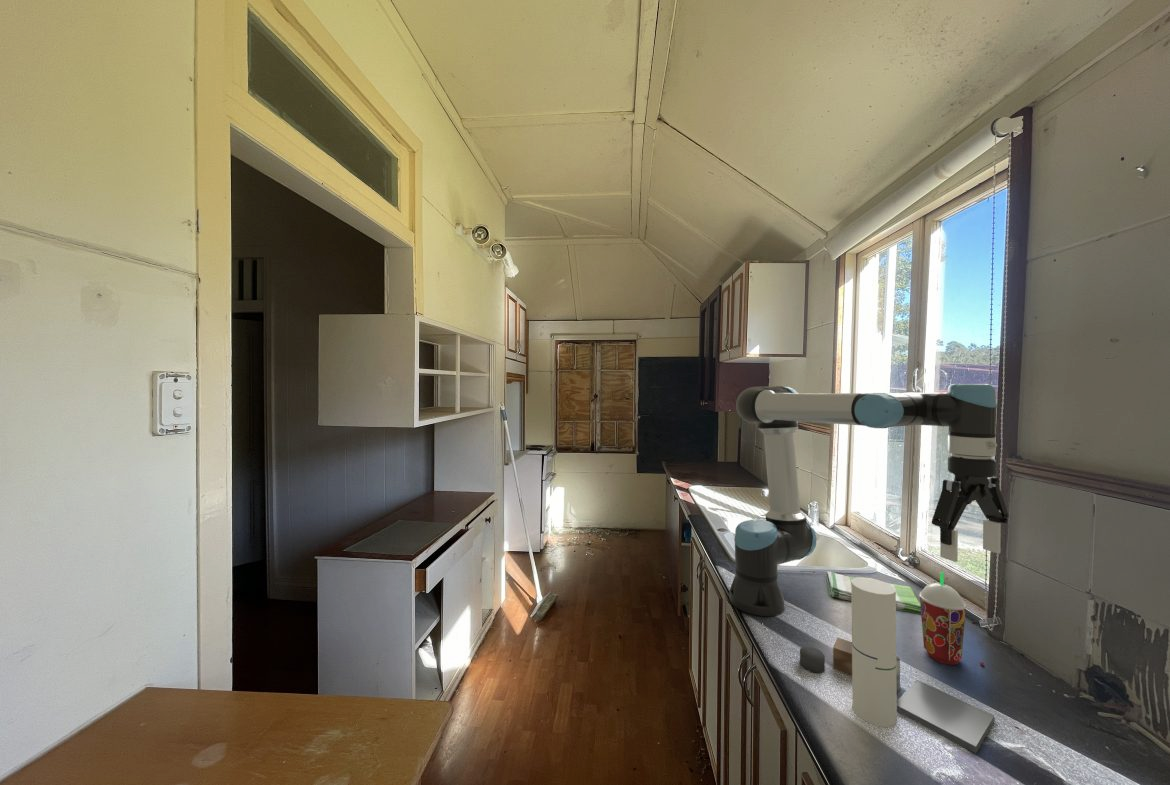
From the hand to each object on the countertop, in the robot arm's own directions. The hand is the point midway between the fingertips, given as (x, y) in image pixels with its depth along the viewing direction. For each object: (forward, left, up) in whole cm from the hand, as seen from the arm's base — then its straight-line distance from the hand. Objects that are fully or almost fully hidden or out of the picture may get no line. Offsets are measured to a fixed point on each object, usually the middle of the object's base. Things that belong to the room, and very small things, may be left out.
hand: (970, 555), depth 88 cm
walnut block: (-18, -16, -28) cm, 36 cm away
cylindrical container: (-9, -26, -28) cm, 39 cm away
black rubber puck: (-23, -22, -28) cm, 42 cm away
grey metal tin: (-11, -15, -28) cm, 33 cm away
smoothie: (-7, +6, -28) cm, 29 cm away
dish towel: (-30, +27, -29) cm, 49 cm away
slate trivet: (-1, -16, -28) cm, 32 cm away
